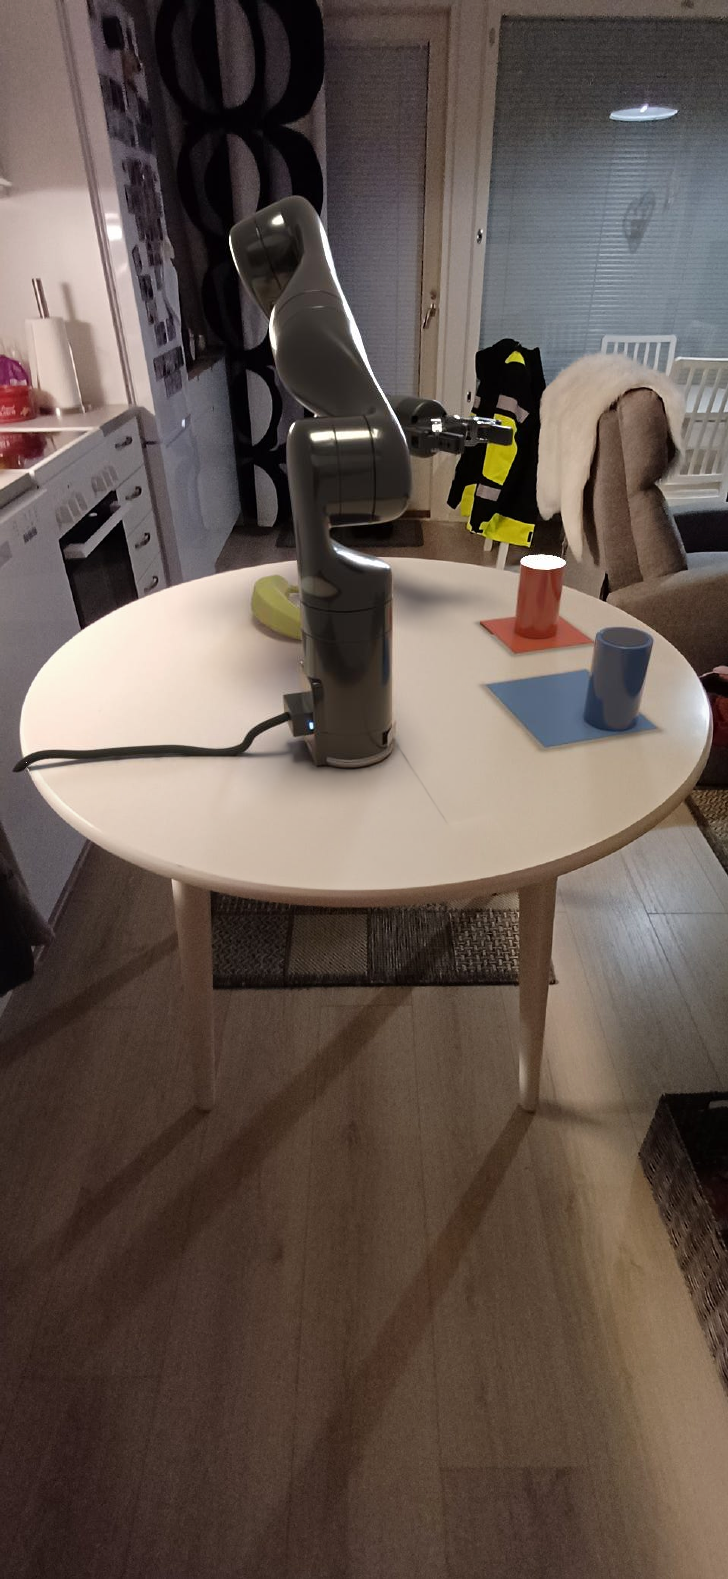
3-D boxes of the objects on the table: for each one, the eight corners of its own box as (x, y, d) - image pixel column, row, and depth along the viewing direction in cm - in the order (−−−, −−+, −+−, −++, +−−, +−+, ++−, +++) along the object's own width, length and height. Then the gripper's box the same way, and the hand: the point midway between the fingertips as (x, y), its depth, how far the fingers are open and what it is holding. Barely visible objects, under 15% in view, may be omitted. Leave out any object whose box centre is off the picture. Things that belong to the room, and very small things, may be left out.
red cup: (525, 641, 108) (532, 570, 102) (507, 626, 112) (513, 557, 107) (564, 636, 109) (573, 565, 103) (544, 621, 114) (552, 552, 108)
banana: (234, 588, 107) (275, 561, 125) (227, 625, 110) (268, 593, 127) (327, 618, 107) (355, 587, 124) (317, 655, 109) (346, 619, 127)
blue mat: (544, 749, 84) (544, 747, 84) (485, 686, 97) (485, 684, 97) (657, 730, 87) (657, 727, 87) (585, 671, 100) (586, 669, 100)
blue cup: (599, 735, 86) (614, 651, 80) (573, 710, 91) (585, 630, 85) (647, 726, 87) (665, 643, 82) (618, 703, 92) (633, 623, 87)
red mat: (514, 655, 105) (515, 653, 105) (479, 623, 114) (480, 621, 114) (594, 644, 107) (594, 642, 107) (553, 613, 117) (553, 611, 117)
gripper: (368, 401, 105) (447, 415, 94) (447, 391, 112) (529, 403, 101) (369, 460, 110) (444, 480, 99) (445, 447, 116) (523, 464, 105)
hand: (487, 441), depth 100 cm, fingers open, 8 cm apart
